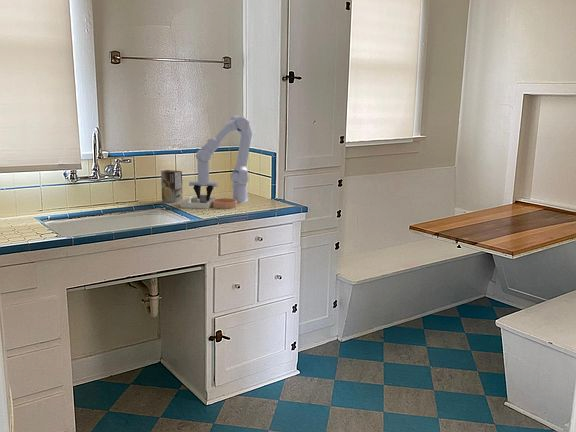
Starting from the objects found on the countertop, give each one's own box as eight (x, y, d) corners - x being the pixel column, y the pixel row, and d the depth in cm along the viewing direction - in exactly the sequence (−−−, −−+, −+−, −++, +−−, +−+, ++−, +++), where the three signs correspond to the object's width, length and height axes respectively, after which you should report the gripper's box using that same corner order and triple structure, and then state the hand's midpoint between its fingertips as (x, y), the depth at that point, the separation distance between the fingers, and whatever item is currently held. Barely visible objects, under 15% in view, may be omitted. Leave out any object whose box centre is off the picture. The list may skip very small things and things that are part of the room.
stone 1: (192, 205, 305) (192, 197, 305) (200, 205, 305) (200, 198, 304) (189, 206, 301) (189, 199, 301) (198, 207, 301) (198, 199, 300)
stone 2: (200, 201, 314) (200, 194, 313) (208, 201, 313) (208, 194, 312) (198, 202, 310) (198, 195, 309) (206, 203, 309) (206, 196, 308)
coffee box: (183, 201, 317) (182, 170, 313) (175, 203, 311) (174, 172, 308) (169, 200, 321) (168, 169, 317) (161, 202, 315) (160, 170, 312)
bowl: (216, 204, 311) (216, 197, 310) (239, 205, 309) (239, 198, 308) (209, 209, 300) (209, 202, 299) (233, 210, 298) (233, 203, 297)
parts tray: (192, 201, 317) (192, 196, 317) (217, 203, 315) (217, 197, 314) (180, 208, 300) (180, 202, 299) (207, 209, 298) (207, 203, 297)
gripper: (186, 174, 306) (187, 201, 309) (215, 175, 303) (215, 202, 306) (191, 172, 313) (191, 198, 315) (219, 173, 310) (219, 199, 313)
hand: (203, 200), depth 311 cm, fingers closed on stone 2, 4 cm apart
